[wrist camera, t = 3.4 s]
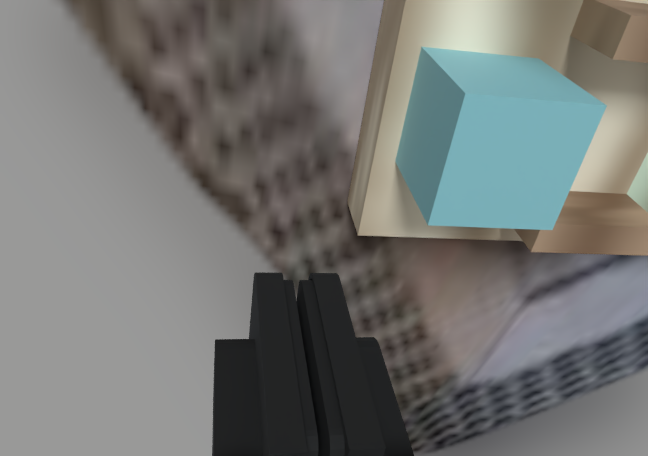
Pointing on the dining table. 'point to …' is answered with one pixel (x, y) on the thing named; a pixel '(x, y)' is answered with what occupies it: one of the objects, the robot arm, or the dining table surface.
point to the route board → (559, 53)
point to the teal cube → (493, 139)
